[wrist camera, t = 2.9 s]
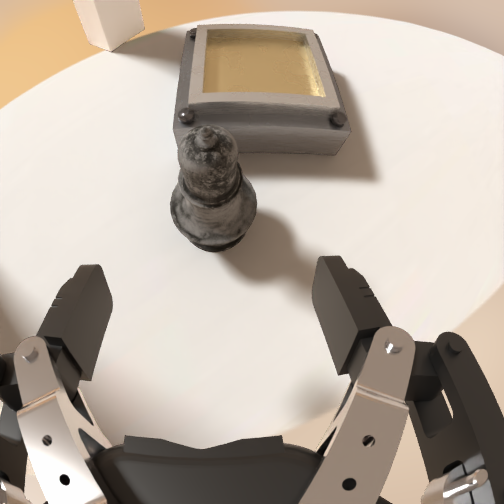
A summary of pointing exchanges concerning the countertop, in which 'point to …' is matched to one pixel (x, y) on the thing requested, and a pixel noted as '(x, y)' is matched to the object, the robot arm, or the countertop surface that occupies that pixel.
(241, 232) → the grey stone figure
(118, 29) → the milk
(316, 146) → the grey square box
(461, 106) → the countertop surface
